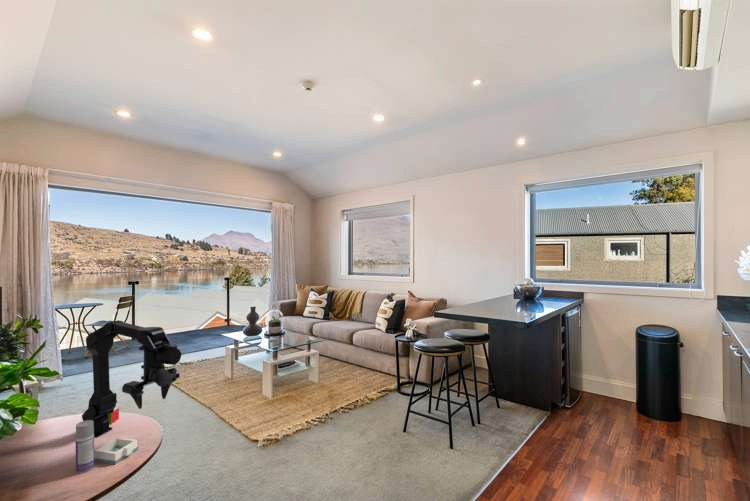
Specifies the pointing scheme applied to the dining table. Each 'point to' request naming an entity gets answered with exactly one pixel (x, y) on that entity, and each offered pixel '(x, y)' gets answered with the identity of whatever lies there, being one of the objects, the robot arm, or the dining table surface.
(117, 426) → the dining table surface
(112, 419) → the rubik's cube
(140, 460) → the dining table surface
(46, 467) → the dining table surface
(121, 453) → the board
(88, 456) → the container
